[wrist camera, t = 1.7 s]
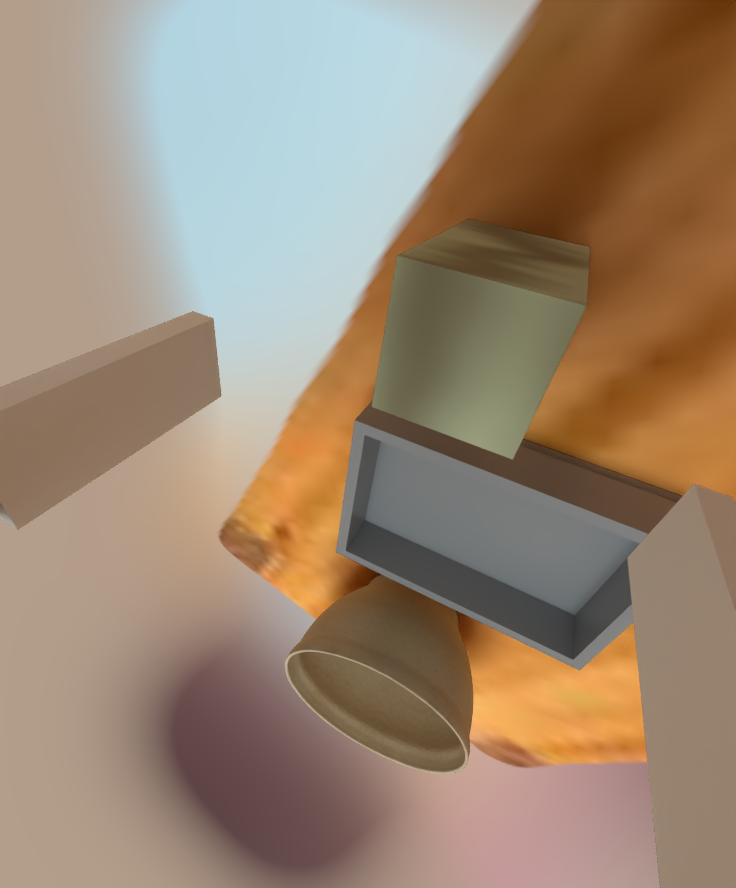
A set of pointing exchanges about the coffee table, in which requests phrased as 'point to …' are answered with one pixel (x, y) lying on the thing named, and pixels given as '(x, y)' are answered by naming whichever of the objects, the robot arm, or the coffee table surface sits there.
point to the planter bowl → (390, 675)
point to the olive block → (479, 331)
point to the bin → (499, 532)
